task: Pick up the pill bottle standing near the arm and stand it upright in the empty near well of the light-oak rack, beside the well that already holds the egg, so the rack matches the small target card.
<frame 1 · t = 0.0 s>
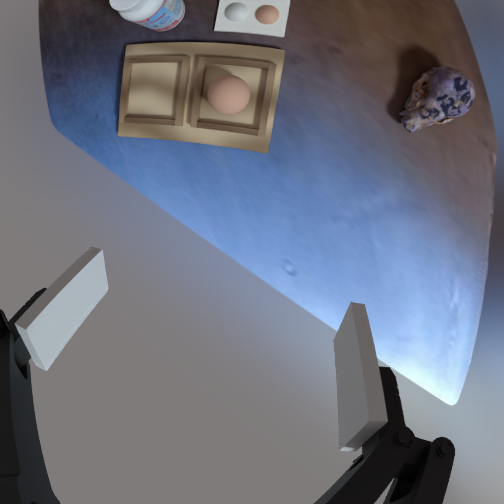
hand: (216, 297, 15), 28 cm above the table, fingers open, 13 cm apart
rack: (194, 91, 35), on the table
skull: (427, 100, 31), on the table
target card: (252, 14, 28), on the table
pill bottle: (167, 13, 29), on the table
egg: (233, 95, 33), point 1 cm above the table, touching rack
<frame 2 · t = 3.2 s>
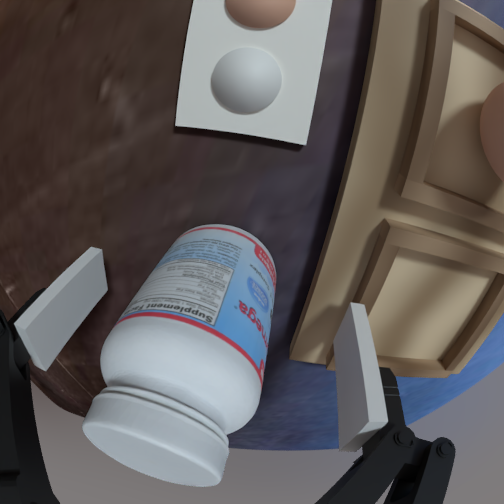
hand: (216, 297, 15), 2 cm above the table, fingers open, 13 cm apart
rack: (456, 218, 13), on the table
target card: (254, 39, 10), on the table
pill bottle: (223, 266, 17), on the table
egg: (498, 127, 9), point 1 cm above the table, touching rack
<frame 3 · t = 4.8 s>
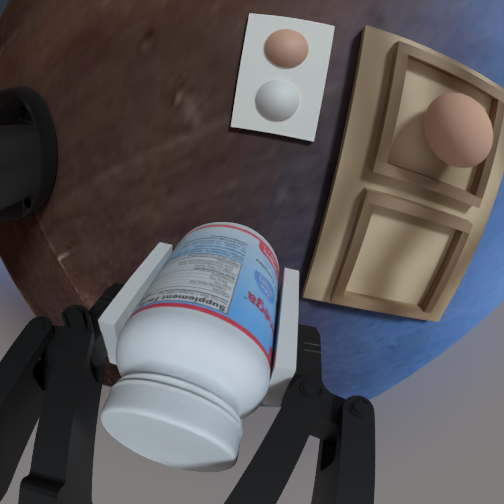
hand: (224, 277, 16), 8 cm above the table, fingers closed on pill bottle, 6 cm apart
rack: (419, 190, 20), on the table
target card: (282, 74, 18), on the table
pill bottle: (227, 263, 17), point 7 cm above the table, touching gripper
egg: (443, 126, 16), point 1 cm above the table, touching rack
when the fingers open (3 cm above the table, at t = 8.9 s): pill bottle stays where it is, resting on rack.
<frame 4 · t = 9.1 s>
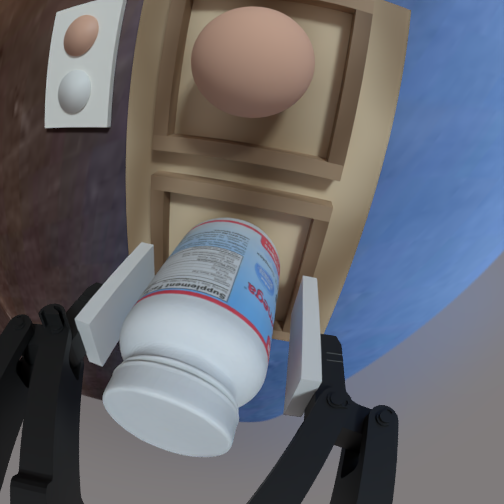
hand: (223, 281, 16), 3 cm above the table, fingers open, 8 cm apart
rack: (247, 165, 16), on the table
target card: (80, 63, 14), on the table
pill bottle: (230, 258, 18), point 1 cm above the table, touching rack
egg: (259, 67, 12), point 1 cm above the table, touching rack
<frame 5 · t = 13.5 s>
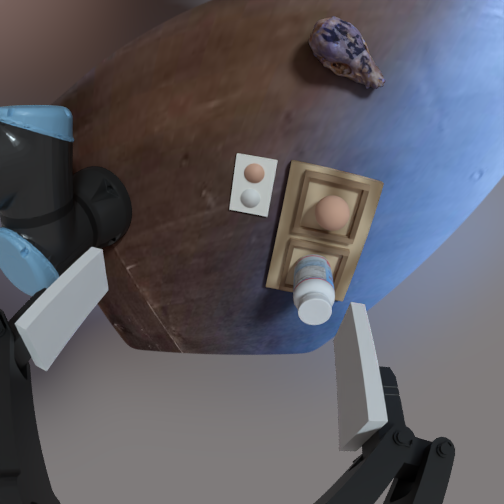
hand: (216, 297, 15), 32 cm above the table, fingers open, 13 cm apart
rack: (321, 235, 47), on the table
skull: (345, 57, 33), on the table
target card: (252, 185, 44), on the table
pill bottle: (312, 267, 48), point 1 cm above the table, touching rack
egg: (330, 206, 43), point 1 cm above the table, touching rack
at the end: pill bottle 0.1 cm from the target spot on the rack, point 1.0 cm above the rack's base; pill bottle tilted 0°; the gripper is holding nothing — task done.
